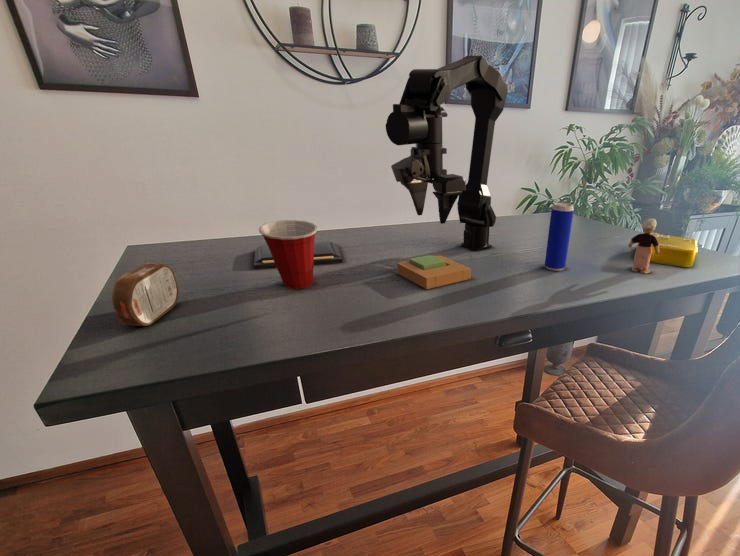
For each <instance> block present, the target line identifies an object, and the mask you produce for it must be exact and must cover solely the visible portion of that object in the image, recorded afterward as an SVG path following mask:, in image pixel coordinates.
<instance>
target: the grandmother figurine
mask: <svg viewBox="0 0 740 556" xmlns="http://www.w3.org/2000/svg"><path fill="white" fill-rule="evenodd" d="M656 227H657V220H656V218H653V217H650V218H647V219H645V220H644V221H643V223H642V224H641V226H640V228H642V231H643V233H638V234H636V235H635V236H633V237H632V238H631V239H630V241H629V243H628V244H627V247H628V248H632V247H633V246H634V244H638V243H639V244H638V246H637V245H636V248H637V249H635V253H634V258H633V262H632V267H631V272H634V273H638V272H640V273H641V274H650V273H651V270H650V269H649V267H650V263H651V262H650V257H651V250H652V248H651V244H652V245H653V246H654V249H655V253H656V254H658V253H659V244H658V241H657V239H656V237H655V236H653V235H651V233H654V231H655V230H656Z"/></svg>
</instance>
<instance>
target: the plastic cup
mask: <svg viewBox="0 0 740 556" xmlns="http://www.w3.org/2000/svg"><path fill="white" fill-rule="evenodd" d="M258 232H259V233H260V234H261V236H262V237H263V239H264V241H265V244H266V245H268V247H269V250H270V252H271V255H272V257H273V260H274V262H275V265H276V267H275V268H276V270H277V271H278V273H279V276H280V279H281V282H282V284H283V285H284V287H286V288H287V289H295V290H297V289H305V288H309V287H311V286H312V285H313V284H314V265H315V264H314V242H315V239H316V233H317V232H318V226H317V225H316V224H315V223H313V222H309V221H307V220H300V219H281V220H273V221H270V222H265V223H264V224H262V225H260V226H259V228H258Z"/></svg>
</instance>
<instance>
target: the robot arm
mask: <svg viewBox="0 0 740 556" xmlns="http://www.w3.org/2000/svg"><path fill="white" fill-rule="evenodd" d="M464 85H465V90H466V91H467V93H468V94H469V95H470V107H471V110H472V112H473V114H474V119H475V120H474V128H473V135H472V136H473V137H472V144H471V153H470V159H469V161H470V162H469V168H468V169H469V171H468V178H467V180H466V178H464V177H463V176H462V175H459V174H455V173H448V170H447V169H446V168H444V164H443V162H444V160H443V159H444V158H443V155H447V154H448V151H447V150H448V149H447V147H443V146H444V145H443V118H447V117H448V116H449V115H448V112H447V110H445V109H444V107H443V106H442V105H443V104H444V103H445V102H446V101H447V100H448V99H450V98H451V95H452V91H453V90H456V89H457V88H460V87H463V86H464ZM507 97H508V85H507V84H506V81H505V79H504V78H503V76H502V74H501V72H499V71H498V70H497V69H496V68H494V67H493V66H492V65H490V63H489V61H488V60H487V58H486V57H485V56H483V55H466V56H463V58H460V59H458V60H456V61H454V62H451V63H448V64H446V65H443V66H441V67H439V68H414V69H412V70H411V71H410V72H409V73H408V78H407V80H406V83H405V86H404V90H403V92H402V95H401V98H400V101H399V103H393V104H392V111H391V112H390V113H389V114H388V116H387V119H386V123H385V132H386V135H387V138H388V139H389V141H390V143H392V144H394V145H396V146H408V145H415V146H411V149H410V155H409V156H407V157H404V158H402V159H401V160H399V161H396V162H394V163H393V164H391V166H390V168H391V170H392V173H393V176H394V179H395V181H396V182H397V183H399V182H400V185H402V186H403V187H404V188H406V189H407V190H408V192H409V195H410V197H411V200H412V203H413V206H414V209H415V211H416V215H417V216H423V212H424V208H425V202H426V196H427V192H428V185H429V184H432V188H433V190H434V191H432V194H433V195H434V197H435V198H436V199H437V206H438V207H437V208H438V217H439V223H440V224H442V225H444V224H446V222H447V220H448V218H449V216H450V213H451V211H452V209H453V206H454V204H455V203H456V201H457V203H456V204H457V207H456V208H457V214H458V219H459V223H460V224H464V230H463V242H461V243H460V246H462V247H464V248H467V249H468V250H471V251H480V250H485V249H491V248H493V245H492V244H489V241H490V228H493V227H494V226H495V224H496V220H497V215H496V213H495V211H494V209H493V207H492V195H491V192H490V190H489V188H488V177H489V171H490V165H491V157H492V148H493V139H494V135H495V134H494V132H495V125H496V122H497V120H498V118H499V117H500V116H501V114H502V113H503V111H504V108H505V104H506V99H507ZM457 199H458V200H457Z"/></svg>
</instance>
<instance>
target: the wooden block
mask: <svg viewBox="0 0 740 556" xmlns="http://www.w3.org/2000/svg"><path fill="white" fill-rule="evenodd" d="M434 256H435V257H437V258H439V259H441V260H444V261H446V266H442V267H438V268H433V269H428V270H422V269H420V268H418V267H416V266H414V265H412V264H410V262H407V261H401V262H397V263H396V264H397V266H396V267H397V268H396V269H397V274H398V275H399V276H401V277H403V278H405V279H407V280H409V281H411V282H412V283H414V284H416V285H418V286H419V287H422V288H423V289H425V290H429V289H434V288H438V287H443V286H447V285H451V284H455V283H460V282H463V281H468V280H471V276H472V275H471V272H472V269H471V267H468V266H466V265H463V264H461V263H459V262H457V261H455V260H452V259H450V258H448V257H446V256H443V255H441V254H439V255H434Z"/></svg>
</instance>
